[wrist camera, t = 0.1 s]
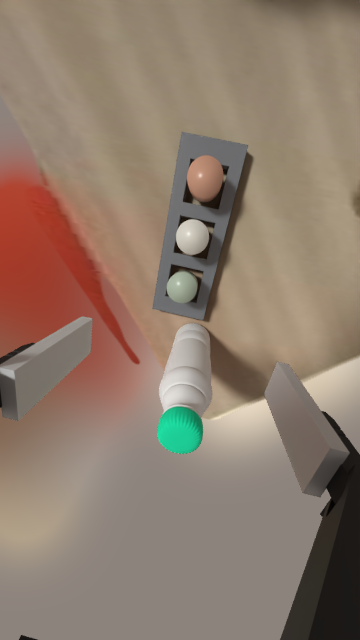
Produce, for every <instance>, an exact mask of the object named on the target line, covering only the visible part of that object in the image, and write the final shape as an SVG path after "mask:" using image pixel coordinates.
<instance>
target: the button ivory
mask: <svg viewBox="0 0 360 640" xmlns="http://www.w3.org/2000/svg"><path fill="white" fill-rule="evenodd" d="M208 241H209V233H208V229H207V227H206V226H205V225H204V224H203V223H202V222H201V221H199V220H195V219H191V220H187V221H185V222H183V223H182V224H181V225H180V226H179V228H178V230H177V233H176V242H177V245H178V247H179V248H180V249H181V250H182V251H183V252H184V253H186V254H190V255H194V254H198V253H200V252H202V251H203V250H204V249H205V247H206V246H207V244H208Z"/></svg>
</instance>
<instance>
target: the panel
mask: <svg viewBox="0 0 360 640" xmlns="http://www.w3.org/2000/svg"><path fill="white" fill-rule="evenodd" d="M247 148H248V145H245V144H240V143H235V142H230V141H225V140H220V139H215V138H210V137H205V136H200V135H195V134H190V133H185V132H182V133H181V139H180V145H179V151H178V157H177V163H176V169H175V175H174V181H173V187H172V193H171V199H170V205H169V212H168V218H167V224H166V230H165V236H164V242H163V248H162V254H161V260H160V266H159V272H158V278H157V284H156V290H155V296H154V302H153V308H152V309H156V310H161V311H165V312H169V313H174V314H178V315H182V316H187V317H191V318H195V319H200V320H203V319H204V315H205V311H206V307H207V303H208V299H209V295H210V291H211V288H212V284H213V280H214V276H215V272H216V268H217V264H218V260H219V257H220V253H221V249H222V245H223V241H224V237H225V233H226V229H227V226H228V222H229V218H230V214H231V210H232V206H233V202H234V198H235V195H236V191H237V187H238V183H239V179H240V175H241V171H242V167H243V164H244V160H245V156H246V152H247ZM204 155H209V156H212V157H214V158H216V159H217V160H218V161H219V162H220V164H221V166H222V169H223V170H228V172H227V176H226V180H225V184H224V189H223V193H222V197H221V201H220V205H219V209H214V208H209V207H204V206H200V205H195V204H190V203H186V202H184V200H185V194H186V189H187V183H188V182H187V173H188V169H189V167H190V165H191V163H192V162H193V161H194V160H195V159H197V158H198V157H200V156H204ZM181 217H185V218H190V219H195V220H199V221H204V222H209V223H213V224H215V226H214V231H213V235H212V239H211V243H210V247H209V251H208V256H207V259H204V258H200V257H195V256H191V255H186V254H181V253H177V252H175V248H176V243H177V242H176V233H177V230H178V228H179V226H180V221H181ZM172 264H174V265H178V266H183V267H187V268H192V269H196V270H201V271H204V272H203V277H202V281H201V285H200V289H199V293H198V298H197V300H191V301H189V302H187V303H177V302H175V301H173V300H172V299H171V298H170V297H169V295H168V294H167V283H168V281H169V279H170V275H171V269H172Z"/></svg>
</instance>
